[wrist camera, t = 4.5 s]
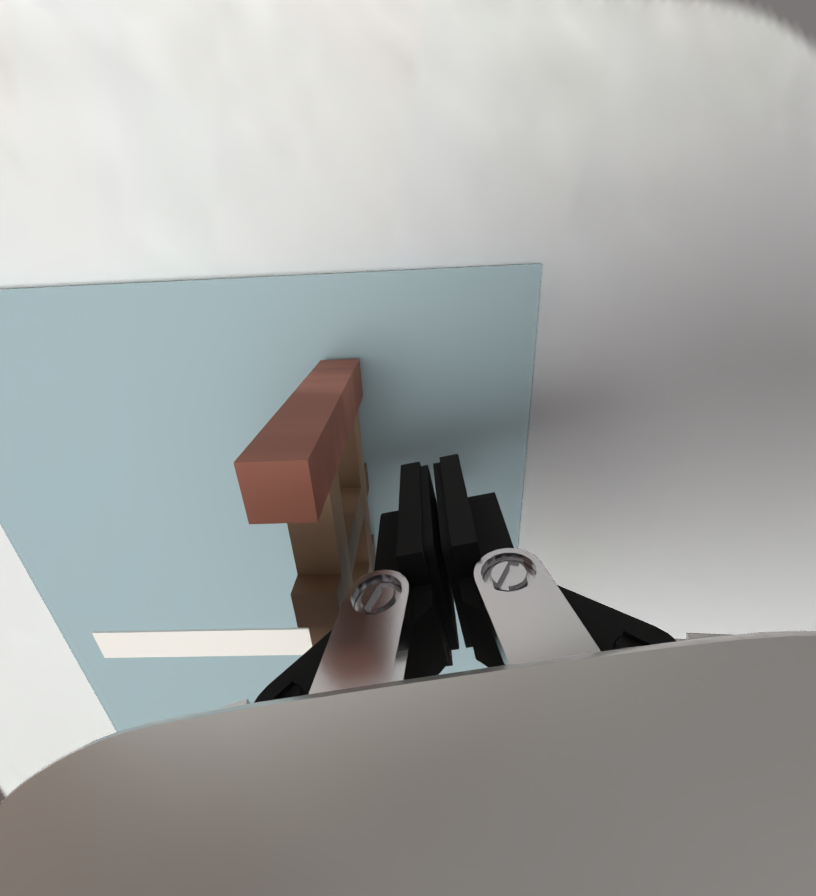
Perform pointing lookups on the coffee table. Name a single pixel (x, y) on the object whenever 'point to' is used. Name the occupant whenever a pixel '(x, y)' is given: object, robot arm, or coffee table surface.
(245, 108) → the coffee table surface
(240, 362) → the card
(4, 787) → the coffee table surface
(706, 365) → the coffee table surface
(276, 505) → the swing panel
